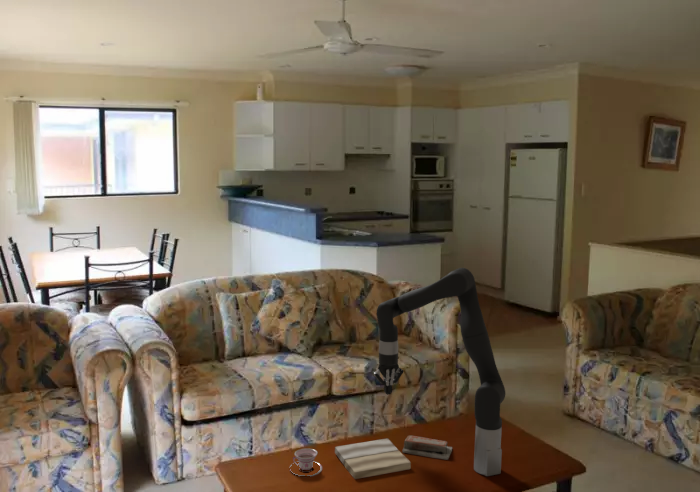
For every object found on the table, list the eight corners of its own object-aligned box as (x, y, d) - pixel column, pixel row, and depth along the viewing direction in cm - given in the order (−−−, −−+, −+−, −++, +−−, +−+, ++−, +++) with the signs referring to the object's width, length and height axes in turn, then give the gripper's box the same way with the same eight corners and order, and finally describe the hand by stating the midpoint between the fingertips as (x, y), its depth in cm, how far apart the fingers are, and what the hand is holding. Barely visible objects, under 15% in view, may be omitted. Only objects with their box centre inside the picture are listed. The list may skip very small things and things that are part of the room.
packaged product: (402, 442, 258) (407, 431, 267) (401, 453, 259) (407, 443, 268) (448, 449, 252) (453, 438, 262) (448, 461, 253) (452, 450, 263)
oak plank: (410, 468, 246) (410, 462, 245) (354, 479, 238) (354, 472, 237) (398, 456, 255) (398, 450, 255) (344, 466, 247) (344, 459, 246)
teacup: (316, 459, 252) (316, 444, 251) (326, 474, 241) (327, 458, 240) (285, 464, 248) (285, 448, 247) (294, 480, 237) (294, 463, 236)
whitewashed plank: (397, 455, 255) (398, 449, 255) (343, 465, 247) (344, 459, 247) (387, 443, 264) (387, 438, 264) (334, 452, 256) (335, 446, 256)
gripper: (377, 355, 255) (376, 399, 257) (408, 351, 260) (407, 394, 263) (369, 350, 262) (368, 393, 264) (399, 346, 267) (398, 388, 269)
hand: (388, 393), depth 263 cm, fingers closed
